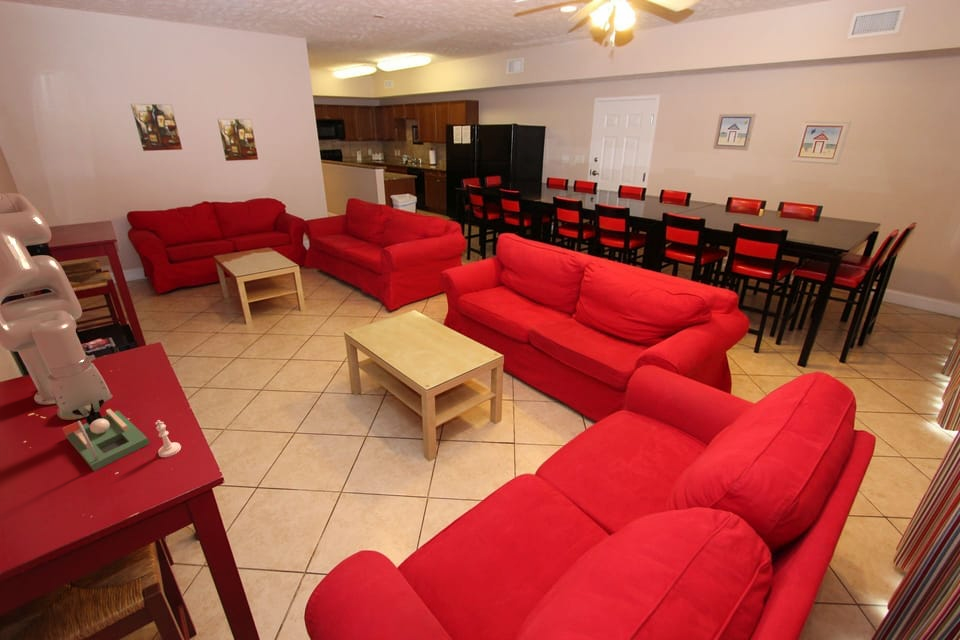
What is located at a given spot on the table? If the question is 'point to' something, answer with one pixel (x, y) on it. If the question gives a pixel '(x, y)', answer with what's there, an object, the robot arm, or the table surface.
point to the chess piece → (166, 442)
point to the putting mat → (106, 440)
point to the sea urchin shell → (73, 416)
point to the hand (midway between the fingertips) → (96, 423)
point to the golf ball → (99, 426)
